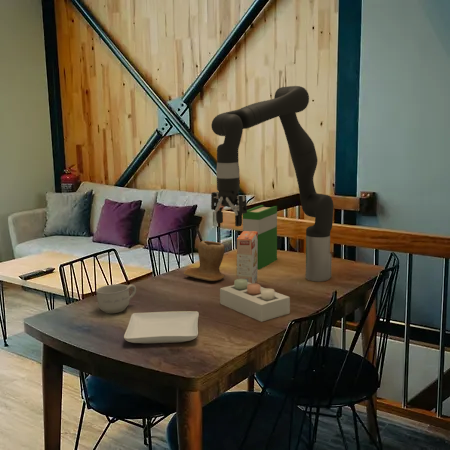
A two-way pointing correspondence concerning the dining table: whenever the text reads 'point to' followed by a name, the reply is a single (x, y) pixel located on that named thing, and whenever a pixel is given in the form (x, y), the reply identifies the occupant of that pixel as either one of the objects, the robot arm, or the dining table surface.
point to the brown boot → (208, 262)
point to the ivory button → (267, 294)
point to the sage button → (240, 284)
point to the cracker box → (247, 256)
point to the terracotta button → (253, 289)
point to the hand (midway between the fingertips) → (228, 224)
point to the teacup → (114, 297)
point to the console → (254, 303)
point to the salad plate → (162, 327)
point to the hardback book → (263, 232)
